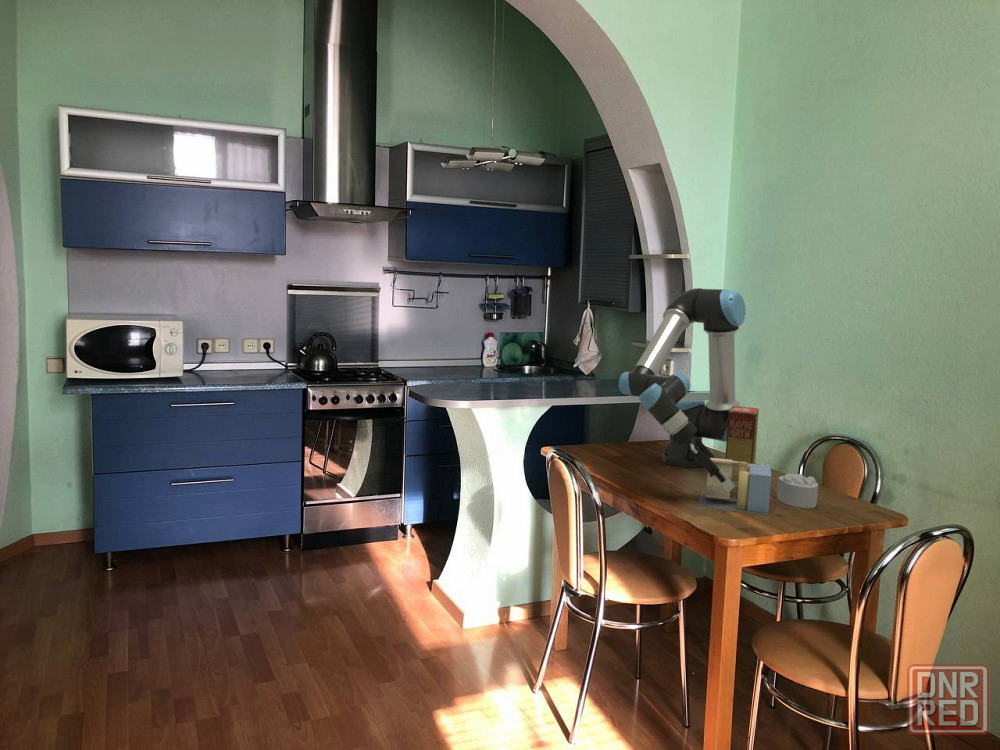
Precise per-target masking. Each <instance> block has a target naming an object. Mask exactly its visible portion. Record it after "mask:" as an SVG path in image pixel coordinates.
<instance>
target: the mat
mask: <svg viewBox="0 0 1000 750" xmlns="http://www.w3.org/2000/svg"><path fill="white" fill-rule="evenodd" d="M697 502H698V503H697V507H698V508H704V509H712V510H713V509H714V510H721V511H732V512H739V513H748V514H754V515H755V514H757V515H765V516H769V512H768V513H763V512H755V511H747V510H739V509H737V508H736V505H737V499H733V498H730V499H721V498H712V497H706V491H700V493H699V498H698V501H697Z"/></svg>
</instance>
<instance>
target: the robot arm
mask: <svg viewBox="0 0 1000 750" xmlns="http://www.w3.org/2000/svg"><path fill="white" fill-rule="evenodd" d="M745 304H746V303H745V299H744V298H743V295H742V294H741V293H740V292H739V291H736V290H729V289H726V288H725V289H718V288H716V289H715V288H698V287H697V288H692V289H689V290H686V291H684V292H683V293H681V294H680V295H678V296H676V297H675V298H674V299H673V300H672V301H671V302H670V303H669V304H668V306H667V307H666V309H664V312H663V313H662V318H663V319H662V321H661V322H660V324H659V326H658V328H657V329H656V331H655V332H654V335H653V336H652V338H651V339H650V341H649V343H648V344H647V346H646V348H645V349H644V351H643V353H642V355H641V356H640V358H639V360H638V361H637V362H636V365H635V366H634V368H633V369H632V371H624V372H623V373H621V375H620V377H619V379H618V389H619V391H620V393H621V394H624V395H626V396H631V397H638V400H639V401H640V403H641V404H642V405H643V407H644V408H645V410H647V411H648V412H649V414H650V415H652V417H653V418H654V419H655V420H656V421H657V422H658V423H659V425H660V426H661V427H662V431H665V432H666V433H667V434H668V435H669V438H668V442H667V445H666V447H665V450H664V452H663V457H662V462H663V463H664V464H667V465H670V466H674V467H682V468H700V467H704V469H705V471H707V473H708V472H709V474H710V476H711V477H712V476H714V477H715V478H716V479H717V480H718V482H719V483H720V484H721V485H722V486H723V487H724V488H725V490H726V491H727V492H729V491H730V490H732V489H733V488H734V487H735V486H734V484H733V483H732V482H731V481H730V480H729V479H728V478H727V476H726V475H725V474H724V473H723V472H722V471H721V470H719V468H718V467H717V466H716V465H715V464H714V463H713V461H712V460H711V459H710V458H716V456H715V455H714V454H713V453H712V452H711V450H710V449H708V447H707V446H706V445H705V444H704V443H703V439H710V440H714V441H715V440H716V441H720V442H723V443H725V442H727V427H728V412H729V410H730V409H731V408H732V406H739V407H741V402H739V401H738V400H737V399H736V367H735V366H736V363H735V362H736V360H735V358H736V357H735V355H736V353H735V348H736V347H735V333H736V332H738V330H739V329H740V326H741V325H743V324H744V321H745V319H746V317H745V316H746V305H745ZM692 323H693V324H694V323H700V324H703V331H704V332H705V333H707V334H708V337H707V338H708V370H709V372H708V375H709V381H708V382H709V399H708V400H707V401H705V400H703V399H683V398H685V397H686V395H687V394H688V393H689V392H690V390H691V381H690V379H689V378H688V377H687V375H685V374H684V373H682V372H675V373H672V374H671V375H669V376H663V375H659V372H660V371H661V369H662V367H663V366H664V363H665V362H666V360H667V359H668V358H669V355H670V353H671V352H672V350H673V348H674V347H675V345H676V343H677V341H678V340H679V338H680V336H681V334H682V333H683V331H684V330H687V329H688V328H689V326H690V324H692Z"/></svg>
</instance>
